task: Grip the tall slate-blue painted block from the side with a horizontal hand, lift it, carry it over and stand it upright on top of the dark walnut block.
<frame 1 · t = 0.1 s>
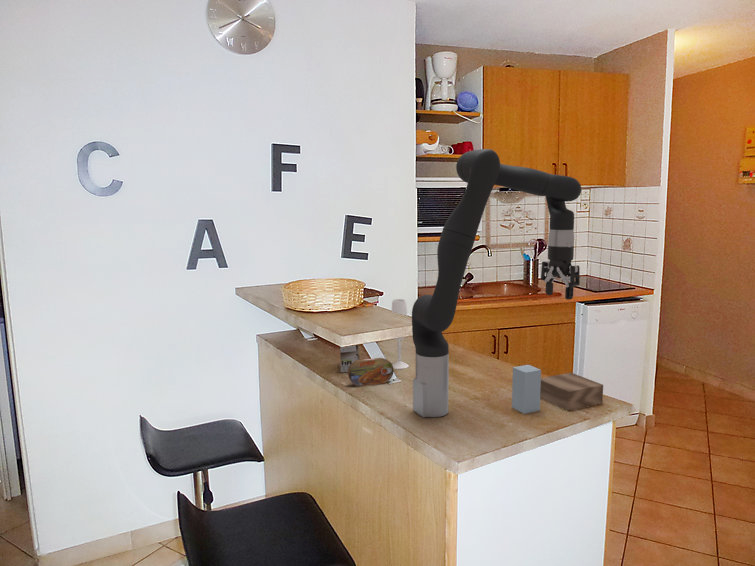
hand: (558, 297, 176), 29 cm above the table, tool pointing down, fingers open, 8 cm apart
coffee box: (350, 369, 203), on the table
tin: (370, 384, 187), on the table
slate block: (525, 408, 163), on the table
walnut block: (569, 401, 170), on the table
champagne flute: (399, 366, 205), on the table
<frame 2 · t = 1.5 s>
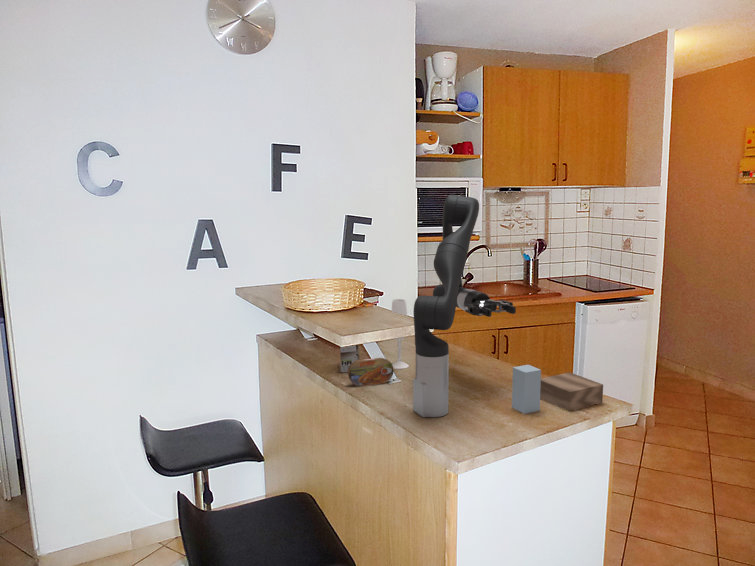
hand: (502, 312, 169), 26 cm above the table, tool horizontal, fingers open, 8 cm apart
nothing on the table moved.
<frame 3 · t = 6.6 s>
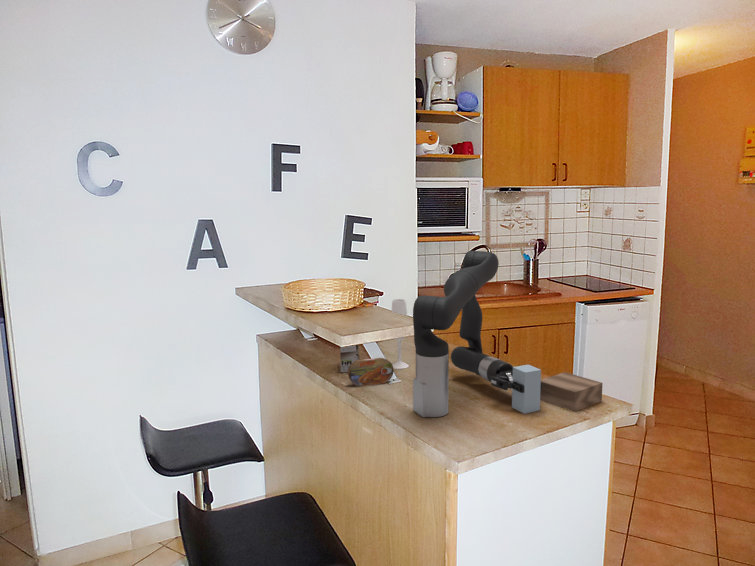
hand: (532, 387, 160), 7 cm above the table, tool horizontal, fingers closed on slate block, 5 cm apart
slate block: (525, 408, 163), on the table, touching gripper
when the fingers open (14 cm above the table, at t = 13.1 s): slate block drops 2 cm, resting on walnut block.
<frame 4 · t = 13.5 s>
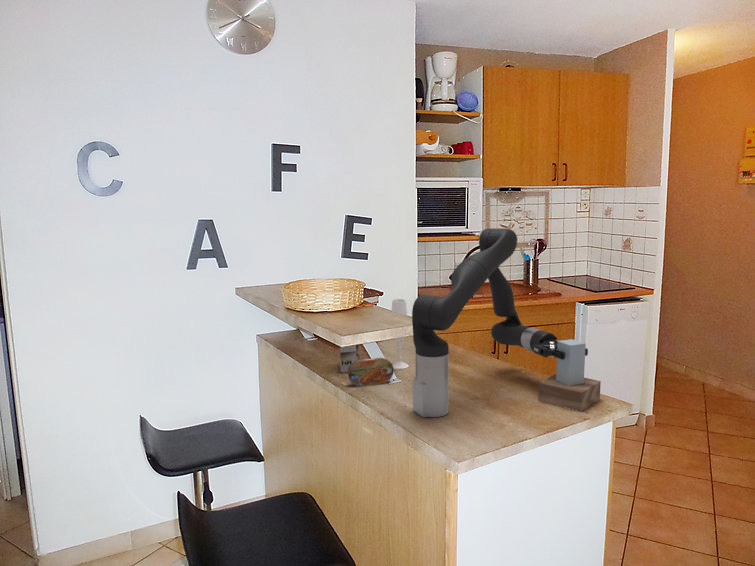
hand: (575, 354, 165), 14 cm above the table, tool horizontal, fingers open, 8 cm apart
slate block: (569, 381, 169), point 6 cm above the table, touching walnut block
walnut block: (569, 401, 170), on the table, touching slate block
everything else where it was.
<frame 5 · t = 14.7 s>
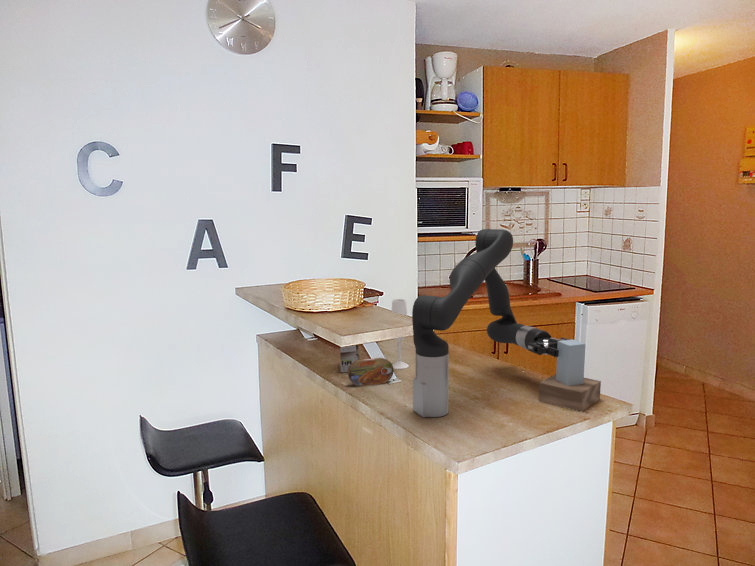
hand: (569, 352, 168), 15 cm above the table, tool horizontal, fingers open, 8 cm apart
nothing on the table moved.
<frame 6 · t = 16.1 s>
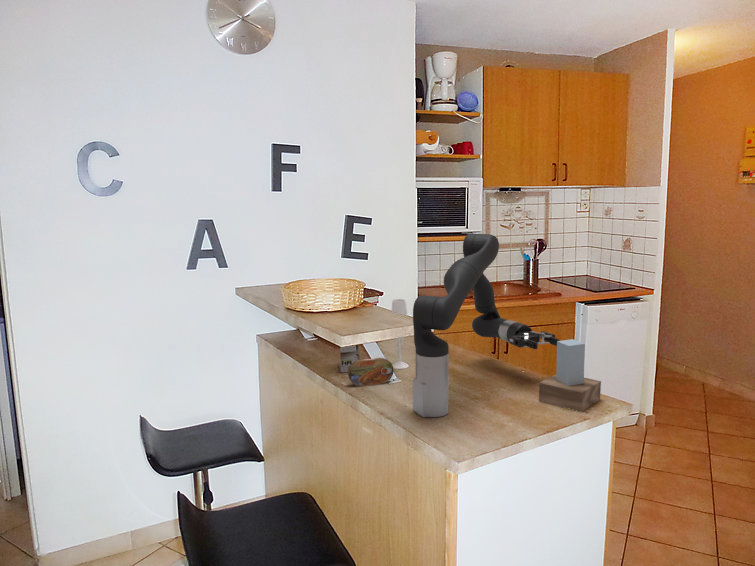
hand: (547, 344, 176), 15 cm above the table, tool horizontal, fingers open, 8 cm apart
slate block: (569, 381, 168), point 6 cm above the table
walnut block: (569, 401, 169), on the table
everything else where it was.
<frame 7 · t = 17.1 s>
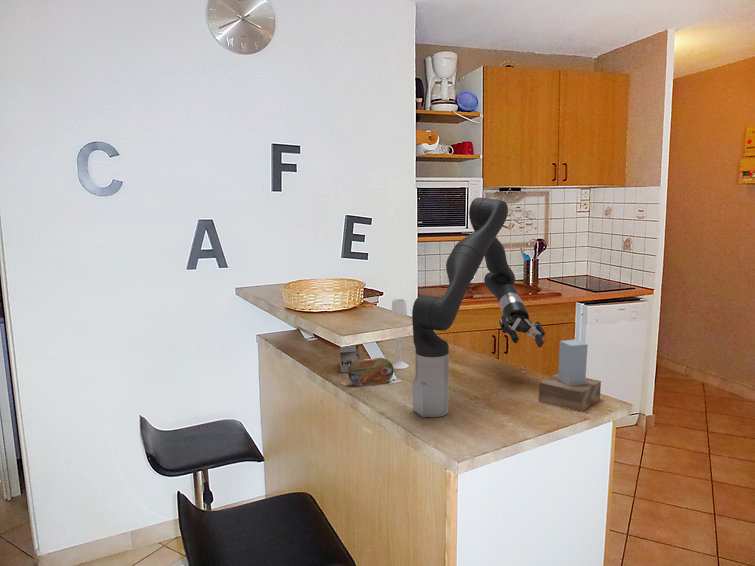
hand: (529, 343, 176), 15 cm above the table, tool tilted 60°, fingers open, 8 cm apart
slate block: (571, 381, 168), point 6 cm above the table, touching walnut block
walnut block: (569, 401, 169), on the table, touching slate block
everything else where it was.
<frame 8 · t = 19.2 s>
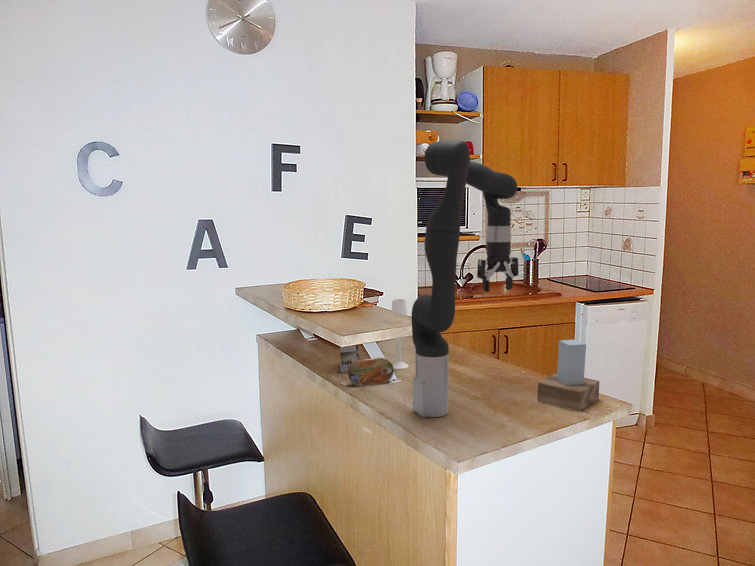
hand: (497, 290, 183), 30 cm above the table, tool pointing down, fingers open, 8 cm apart
nothing on the table moved.
at the end: slate block inside the target area on the walnut block (0.4 cm from its centre), point 6.1 cm above the walnut block's base; slate block tilted 1°; the gripper is holding nothing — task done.
